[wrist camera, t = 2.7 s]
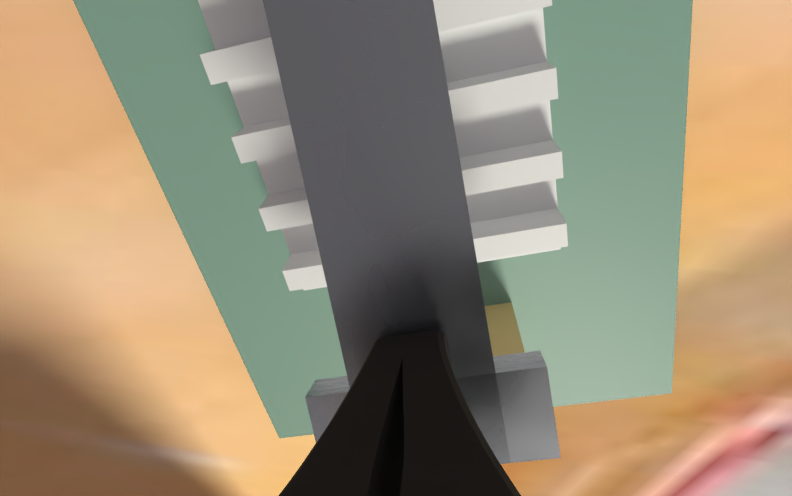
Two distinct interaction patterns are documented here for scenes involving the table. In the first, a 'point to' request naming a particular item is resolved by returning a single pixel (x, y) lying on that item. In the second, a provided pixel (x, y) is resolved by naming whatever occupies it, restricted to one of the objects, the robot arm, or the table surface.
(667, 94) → the board
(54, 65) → the table surface
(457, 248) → the grey flat bar
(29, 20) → the table surface
